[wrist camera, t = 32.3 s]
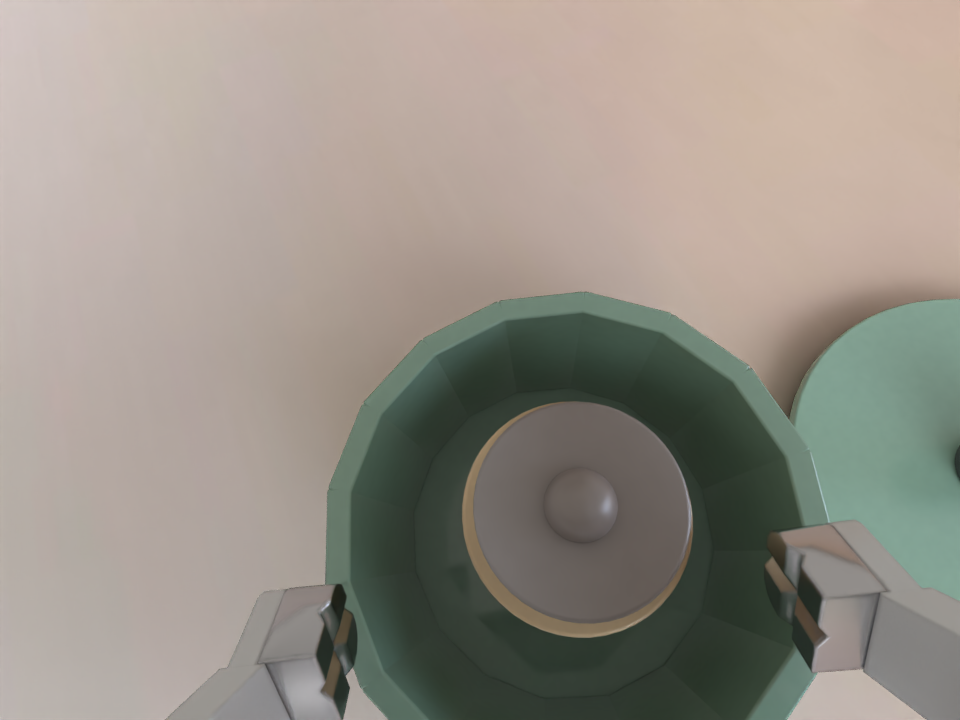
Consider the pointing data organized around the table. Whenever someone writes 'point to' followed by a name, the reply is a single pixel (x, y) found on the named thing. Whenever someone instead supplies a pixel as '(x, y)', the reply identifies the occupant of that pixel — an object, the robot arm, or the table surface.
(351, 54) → the table surface
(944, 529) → the pot lid
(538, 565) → the pepper mill
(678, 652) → the pot
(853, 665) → the robot arm
